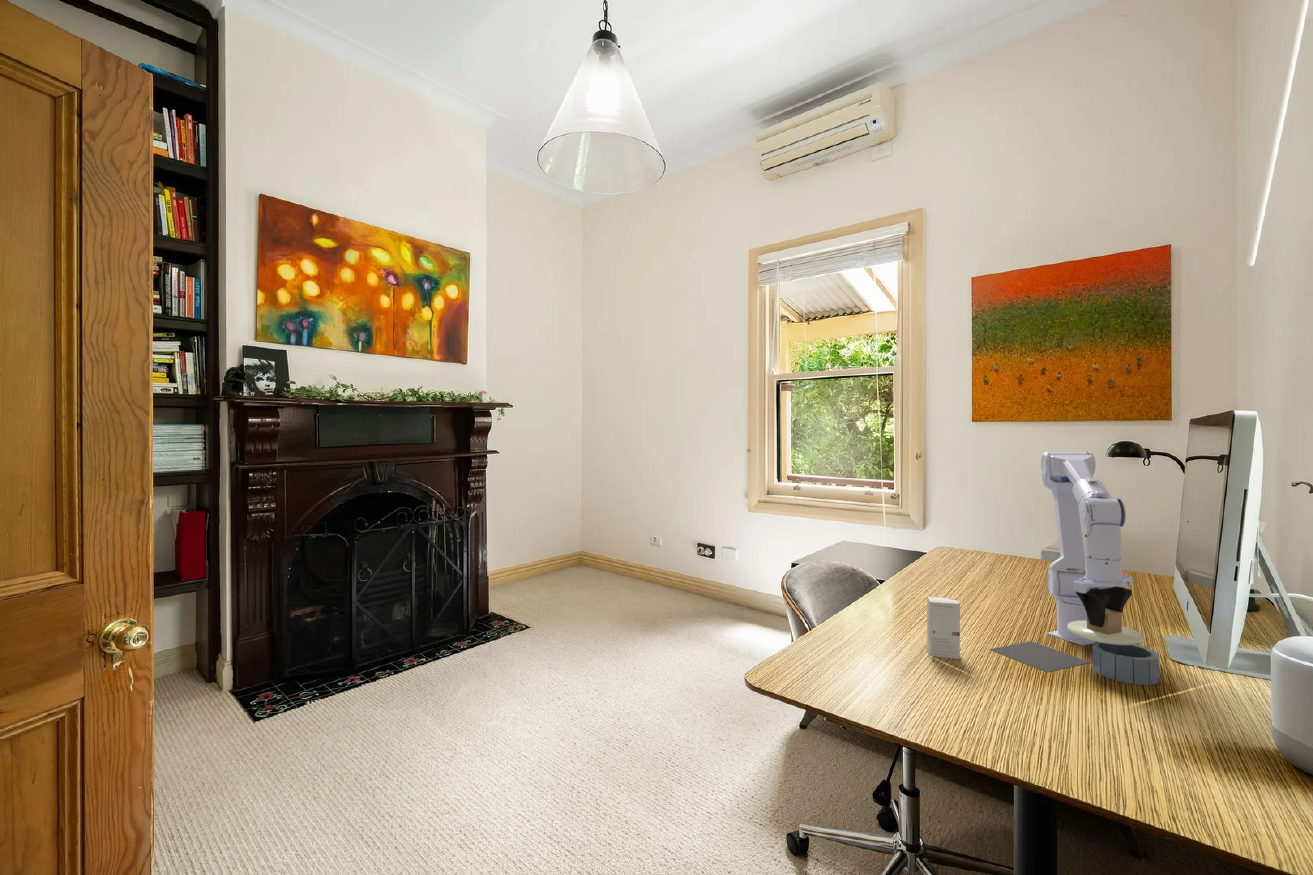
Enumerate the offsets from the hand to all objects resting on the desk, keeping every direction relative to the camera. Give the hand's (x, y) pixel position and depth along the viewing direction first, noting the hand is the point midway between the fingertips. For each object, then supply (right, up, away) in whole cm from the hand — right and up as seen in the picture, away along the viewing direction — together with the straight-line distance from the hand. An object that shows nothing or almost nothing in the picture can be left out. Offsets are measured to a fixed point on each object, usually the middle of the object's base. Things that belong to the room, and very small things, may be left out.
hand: (1104, 624), depth 113 cm
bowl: (+3, -9, -2) cm, 10 cm away
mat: (-8, -10, +8) cm, 15 cm away
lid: (0, -2, 0) cm, 2 cm away
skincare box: (-28, -10, +10) cm, 31 cm away
